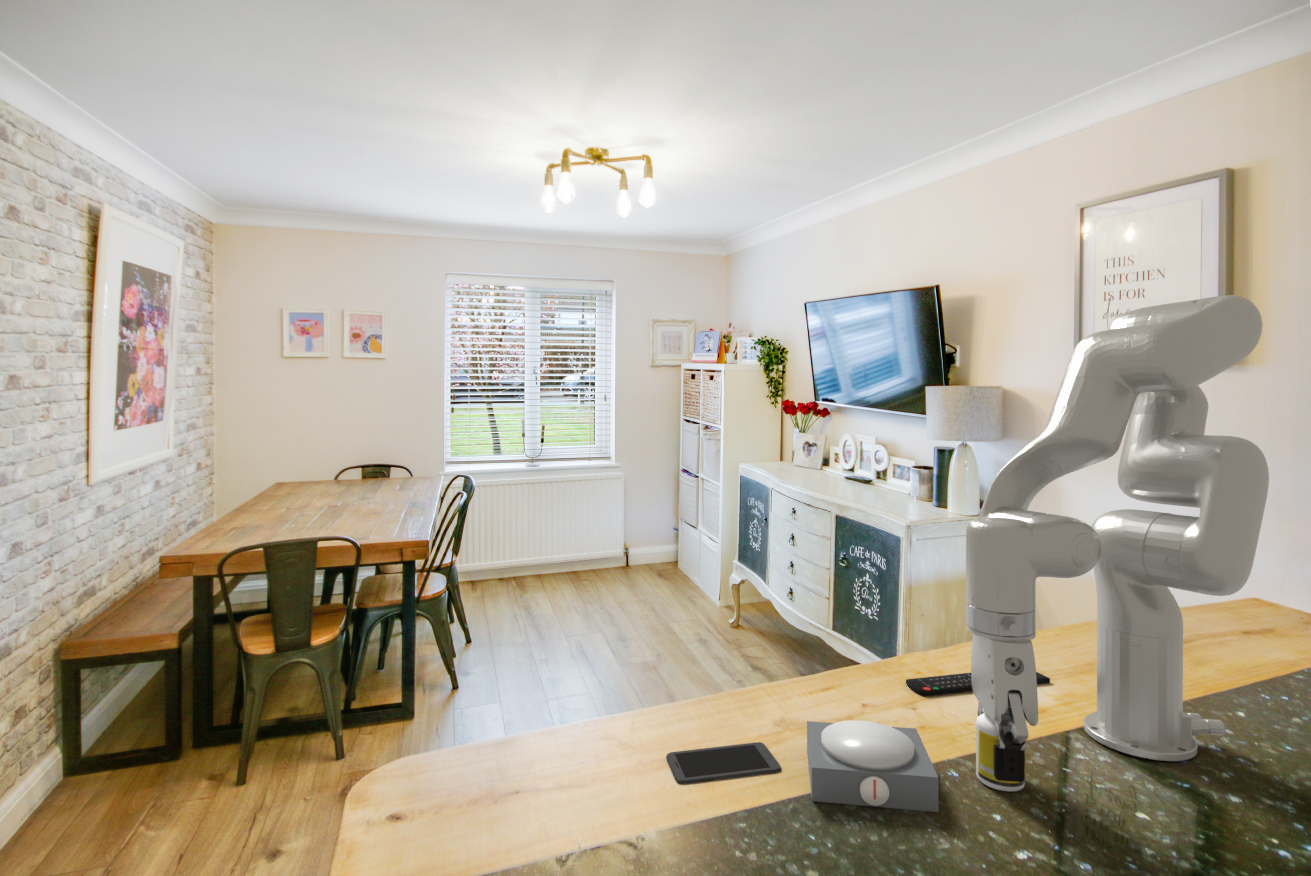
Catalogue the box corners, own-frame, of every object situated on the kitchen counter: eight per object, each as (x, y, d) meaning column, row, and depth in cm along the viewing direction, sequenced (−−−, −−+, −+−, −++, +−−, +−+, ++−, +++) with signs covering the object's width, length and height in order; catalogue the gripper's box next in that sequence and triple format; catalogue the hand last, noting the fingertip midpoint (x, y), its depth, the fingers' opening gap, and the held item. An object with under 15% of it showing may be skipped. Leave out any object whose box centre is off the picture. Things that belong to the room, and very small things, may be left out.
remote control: (1049, 686, 110) (1049, 678, 110) (921, 700, 105) (921, 692, 105) (1026, 674, 115) (1026, 666, 115) (902, 687, 110) (902, 679, 110)
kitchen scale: (916, 758, 86) (916, 722, 86) (939, 815, 74) (939, 773, 74) (807, 750, 89) (806, 715, 89) (812, 803, 76) (811, 763, 76)
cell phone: (783, 773, 84) (783, 768, 84) (677, 787, 81) (677, 781, 81) (763, 746, 91) (763, 741, 91) (664, 757, 88) (664, 752, 88)
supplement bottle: (1032, 795, 78) (1032, 713, 77) (982, 790, 79) (982, 709, 78) (1016, 771, 83) (1016, 694, 83) (970, 767, 84) (970, 691, 84)
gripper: (1063, 645, 71) (1063, 809, 72) (1008, 601, 88) (1008, 735, 88) (989, 641, 73) (989, 803, 73) (949, 599, 89) (949, 731, 90)
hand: (1000, 764), depth 81 cm, fingers closed on supplement bottle, 5 cm apart
